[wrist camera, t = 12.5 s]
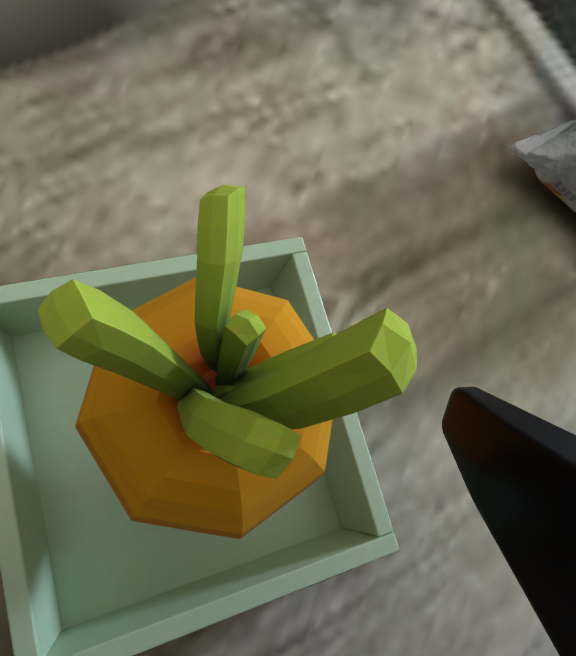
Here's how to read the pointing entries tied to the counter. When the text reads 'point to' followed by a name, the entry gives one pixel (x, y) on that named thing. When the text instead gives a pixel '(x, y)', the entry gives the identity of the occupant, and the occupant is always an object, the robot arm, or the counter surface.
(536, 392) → the counter surface
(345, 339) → the carrot
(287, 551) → the mint green tray
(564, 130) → the packaged food
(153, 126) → the counter surface
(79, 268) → the counter surface
